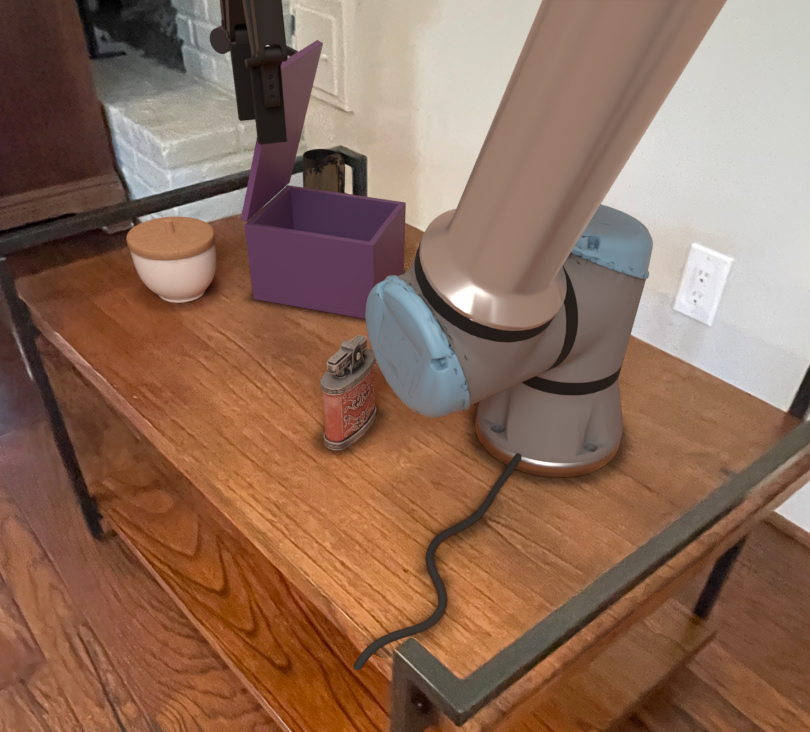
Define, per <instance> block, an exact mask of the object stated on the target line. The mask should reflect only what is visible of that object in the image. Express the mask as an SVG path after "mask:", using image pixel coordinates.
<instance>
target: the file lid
mask: <svg viewBox="0 0 810 732" xmlns="http://www.w3.org/2000/svg"><path fill="white" fill-rule="evenodd" d="M226 32H227V30H224V29H223V27H222V25H218V26H217V27H215V28H213V29H212V30H211V31H210V33H209V43H210V46H211V48H212V49H213V50H214V52H216V53H218V54H220V55H225V54H227V53H229V52H230V45H231V44H233V42H229V40H228V38H227V35H226ZM268 46H272V45H268ZM323 46H324V42H322V41H320V40H318V39H316V40H315V41H313V42H312V43H309V44H308V45H307V46H305V47H303V48H302V49H300V50H299V51H298V50H296V49H294V47H290V46H289V45H287V44H286V47H287V52H288V59H287V61H285V62H282V65H281V74H282V86H283V98H284V110H285V123H286V135H287V142H280V143H271V144H262V145H260V144H259V143H258V141H257V138H256V139H255V144H254V150H253V156H252V160H251V166H250V170H249V175H248V180H247V186H246V191H245V196H244V201H243V206H242V211H241V215H240V220H241V221H242V222H245V223H247V222H248V221H249V220H250V219H251V218H252V217H253V216H255V215H256V214H257V213H258V212H259V211H260V210H261V209H262V208H263V207H264V206H265V205H267V204H268V203H269V202H270V201H271V200H272V199H273V198H274V197H275V196H276V195H277V194H278V193H280V192H281V191H282V190H283V189H284V188H285V187H286V186H287V185H290V183H291V179H292V175H293V171H294V166H295V162H296V158H297V154H298V150H299V146H300V141H301V137H302V133H303V129H304V124H305V121H306V116H307V113H308V109H309V105H310V100H311V96H312V92H313V87H314V83H315V79H316V75H317V71H318V68H319V67H318V66H319V63H320V58H321V53H322V50H323Z"/></svg>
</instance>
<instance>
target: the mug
mask: <svg viewBox="0 0 810 732" xmlns="http://www.w3.org/2000/svg"><path fill="white" fill-rule="evenodd" d="M302 187H304V188H311V189H317V190H324V191H331V192H338V193H345V192H346V163H345V159H344V157H343V156H342V155H341V154H339V153H338V152H337V151H335V150H333V149H327V148H313V149H309V150H306V151H305V152H303V154H302ZM345 194H346V193H345Z"/></svg>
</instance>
